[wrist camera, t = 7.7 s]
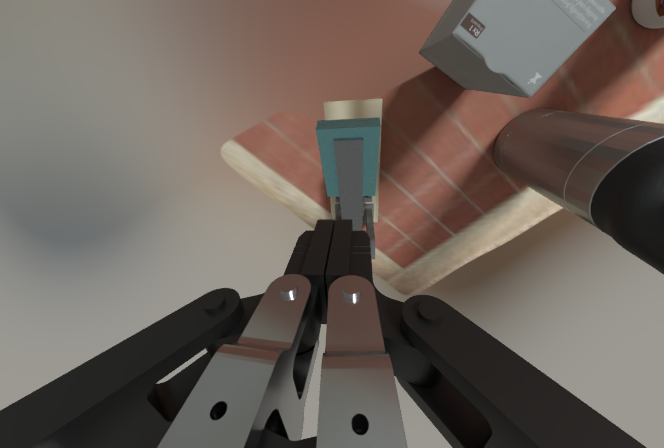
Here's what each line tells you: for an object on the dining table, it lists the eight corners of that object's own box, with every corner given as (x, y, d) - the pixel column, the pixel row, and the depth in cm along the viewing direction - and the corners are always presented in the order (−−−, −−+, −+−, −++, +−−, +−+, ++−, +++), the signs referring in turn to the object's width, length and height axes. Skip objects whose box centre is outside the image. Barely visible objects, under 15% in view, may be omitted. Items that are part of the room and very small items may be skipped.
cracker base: (381, 98, 33) (392, 105, 22) (377, 218, 43) (383, 264, 32) (324, 102, 34) (308, 110, 23) (332, 218, 43) (323, 263, 33)
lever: (373, 114, 27) (381, 117, 18) (370, 243, 35) (375, 294, 25) (330, 117, 28) (315, 121, 18) (336, 243, 35) (328, 292, 26)
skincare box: (505, 38, 29) (638, -2, 15) (459, 96, 32) (534, 105, 18) (453, -9, 27) (548, -103, 13) (410, 56, 30) (452, 34, 17)
